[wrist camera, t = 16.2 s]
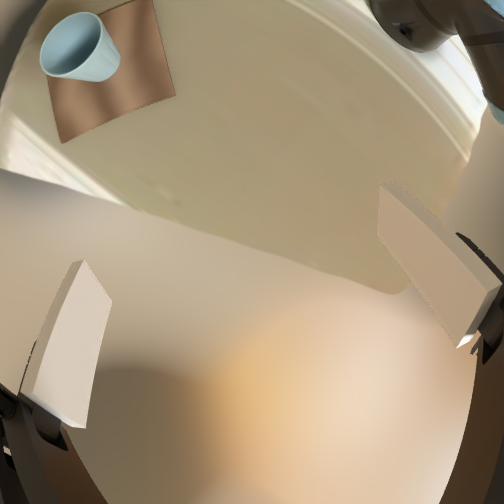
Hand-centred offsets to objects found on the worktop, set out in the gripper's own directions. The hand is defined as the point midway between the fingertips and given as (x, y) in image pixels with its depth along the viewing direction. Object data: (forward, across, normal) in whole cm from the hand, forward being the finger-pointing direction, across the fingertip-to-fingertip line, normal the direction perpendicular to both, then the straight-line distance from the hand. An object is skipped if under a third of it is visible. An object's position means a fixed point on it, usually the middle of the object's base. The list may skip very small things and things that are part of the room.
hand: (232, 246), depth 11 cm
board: (+29, -13, +14) cm, 35 cm away
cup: (+28, -13, +14) cm, 34 cm away
